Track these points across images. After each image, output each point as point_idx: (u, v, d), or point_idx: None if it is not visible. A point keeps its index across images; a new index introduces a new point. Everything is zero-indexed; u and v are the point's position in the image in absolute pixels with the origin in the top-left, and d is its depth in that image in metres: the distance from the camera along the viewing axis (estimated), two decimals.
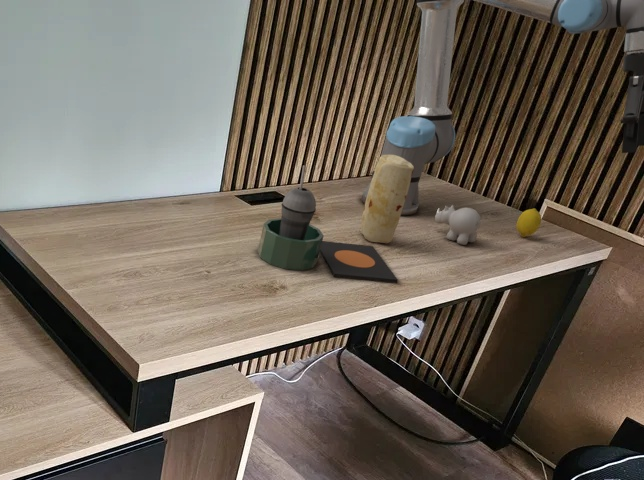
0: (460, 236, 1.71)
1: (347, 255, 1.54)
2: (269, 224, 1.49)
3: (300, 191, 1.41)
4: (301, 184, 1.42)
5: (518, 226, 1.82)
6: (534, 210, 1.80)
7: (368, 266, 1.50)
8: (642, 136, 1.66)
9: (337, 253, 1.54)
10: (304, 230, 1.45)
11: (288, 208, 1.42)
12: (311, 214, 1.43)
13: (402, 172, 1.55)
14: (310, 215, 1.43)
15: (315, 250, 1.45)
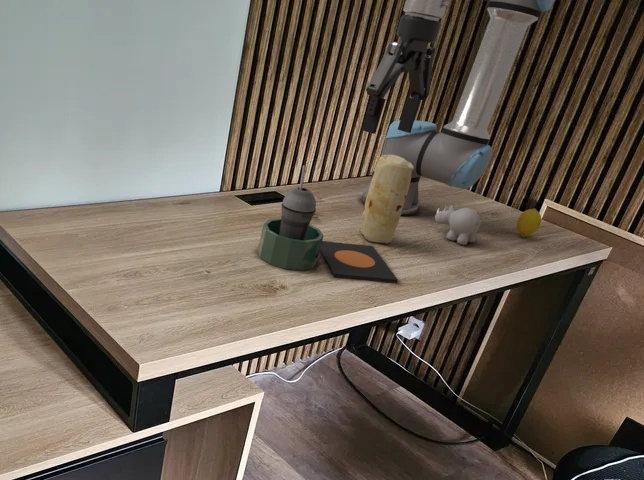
0: (460, 236, 1.71)
1: (347, 255, 1.54)
2: (269, 224, 1.49)
3: (300, 191, 1.41)
4: (301, 184, 1.42)
5: (518, 226, 1.82)
6: (534, 210, 1.80)
7: (368, 266, 1.50)
8: (408, 121, 1.42)
9: (337, 253, 1.54)
10: (304, 230, 1.45)
11: (288, 208, 1.42)
12: (311, 214, 1.43)
13: (402, 172, 1.55)
14: (310, 215, 1.43)
15: (315, 250, 1.45)
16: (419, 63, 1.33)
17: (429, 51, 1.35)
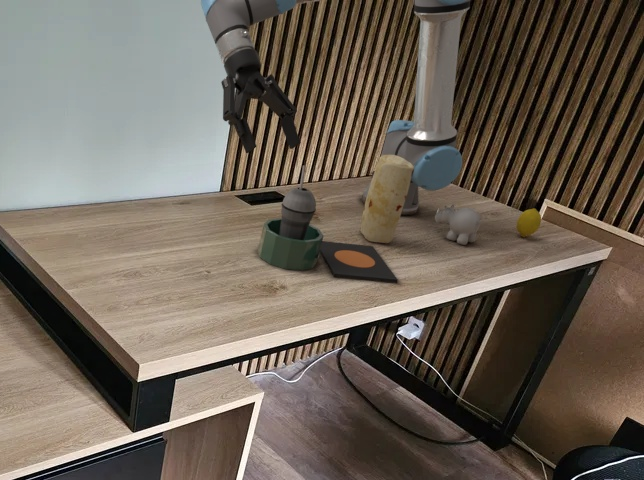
0: (460, 236, 1.71)
1: (347, 255, 1.54)
2: (269, 224, 1.49)
3: (300, 191, 1.41)
4: (301, 184, 1.42)
5: (518, 226, 1.82)
6: (534, 210, 1.80)
7: (368, 266, 1.50)
8: (292, 135, 1.50)
9: (337, 253, 1.54)
10: (304, 230, 1.45)
11: (288, 208, 1.42)
12: (311, 214, 1.43)
13: (402, 172, 1.55)
14: (310, 215, 1.43)
15: (315, 250, 1.45)
16: (262, 86, 1.47)
17: (268, 78, 1.50)
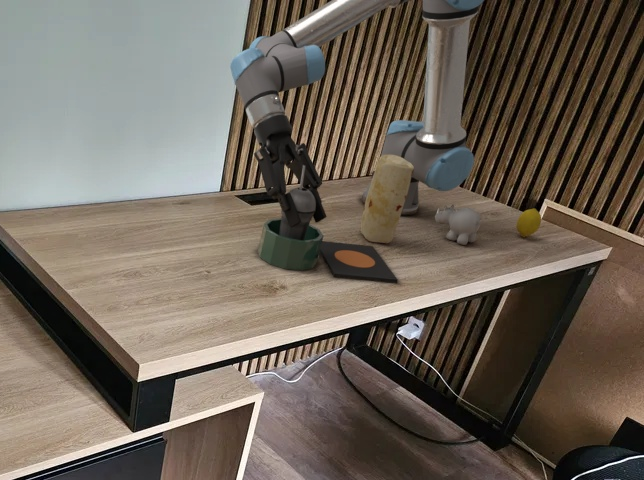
0: (460, 236, 1.71)
1: (347, 255, 1.54)
2: (269, 224, 1.49)
3: (300, 191, 1.41)
4: (301, 184, 1.42)
5: (518, 226, 1.82)
6: (534, 210, 1.80)
7: (368, 266, 1.50)
8: (317, 209, 1.45)
9: (337, 253, 1.54)
10: (304, 230, 1.45)
11: None
12: (311, 214, 1.43)
13: (402, 172, 1.55)
14: (310, 215, 1.43)
15: (315, 250, 1.45)
16: (293, 152, 1.44)
17: (300, 146, 1.47)
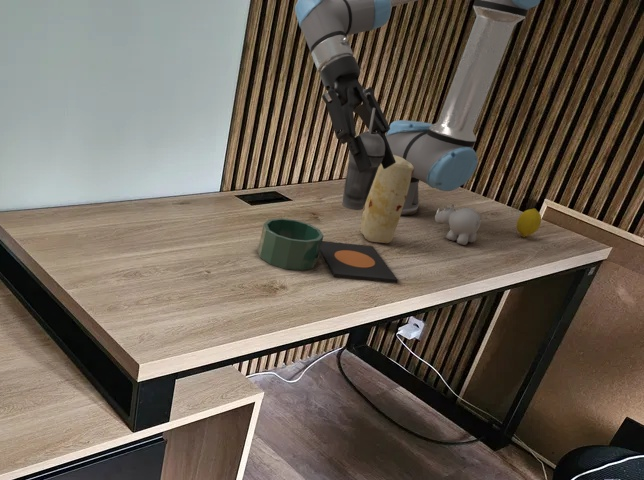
0: (460, 236, 1.71)
1: (347, 255, 1.54)
2: (269, 224, 1.49)
3: (370, 134, 1.37)
4: (370, 128, 1.38)
5: (518, 226, 1.82)
6: (534, 210, 1.80)
7: (368, 266, 1.50)
8: (386, 155, 1.41)
9: (337, 253, 1.54)
10: (373, 176, 1.40)
11: None
12: (380, 159, 1.38)
13: (402, 172, 1.55)
14: (379, 160, 1.38)
15: (315, 250, 1.45)
16: (361, 95, 1.40)
17: (367, 90, 1.43)
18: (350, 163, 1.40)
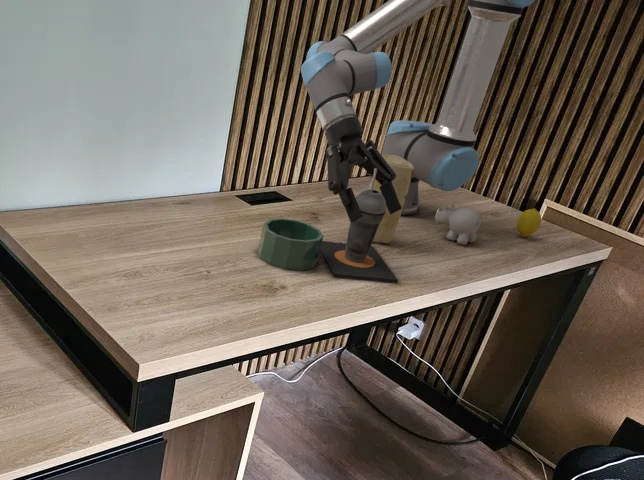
0: (460, 236, 1.71)
1: None
2: (269, 224, 1.49)
3: (371, 193, 1.44)
4: (372, 186, 1.45)
5: (518, 226, 1.82)
6: (534, 210, 1.80)
7: (368, 266, 1.50)
8: (392, 201, 1.49)
9: (337, 253, 1.54)
10: (374, 232, 1.47)
11: None
12: (382, 216, 1.45)
13: (402, 172, 1.55)
14: (381, 217, 1.45)
15: (315, 250, 1.45)
16: (364, 153, 1.46)
17: (368, 144, 1.49)
18: None
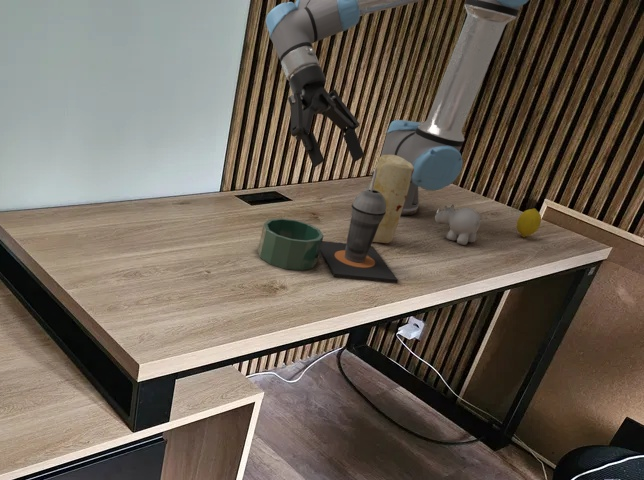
0: (460, 236, 1.71)
1: None
2: (269, 224, 1.49)
3: (371, 193, 1.44)
4: (372, 186, 1.45)
5: (518, 226, 1.82)
6: (534, 210, 1.80)
7: (368, 266, 1.50)
8: (355, 149, 1.53)
9: (337, 253, 1.54)
10: (374, 232, 1.47)
11: (359, 210, 1.44)
12: (382, 216, 1.45)
13: (402, 172, 1.55)
14: (381, 217, 1.45)
15: (315, 250, 1.45)
16: (326, 101, 1.51)
17: (332, 94, 1.54)
18: (352, 219, 1.47)
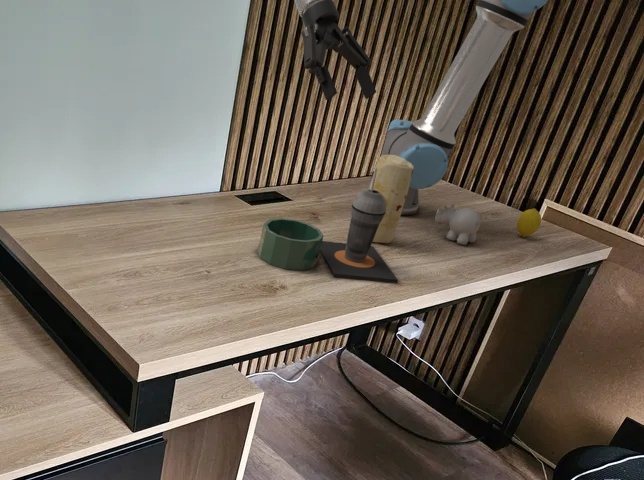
0: (460, 236, 1.71)
1: None
2: (269, 224, 1.49)
3: (371, 193, 1.44)
4: (372, 186, 1.45)
5: (518, 226, 1.82)
6: (534, 210, 1.80)
7: (368, 266, 1.50)
8: (367, 85, 1.54)
9: (337, 253, 1.54)
10: (374, 232, 1.47)
11: (359, 210, 1.44)
12: (382, 216, 1.45)
13: (402, 172, 1.55)
14: (381, 217, 1.45)
15: (315, 250, 1.45)
16: (339, 36, 1.51)
17: (344, 30, 1.55)
18: (352, 219, 1.47)
